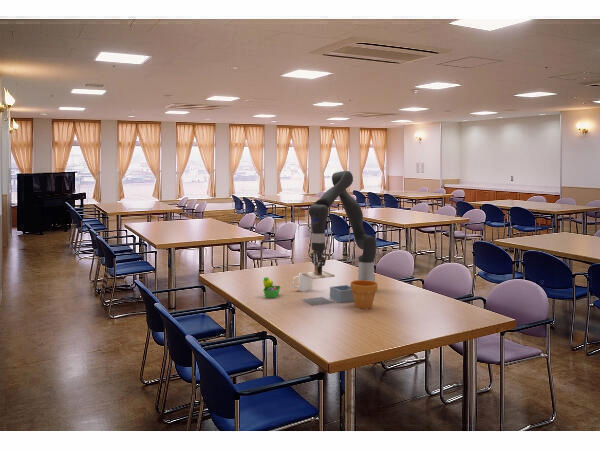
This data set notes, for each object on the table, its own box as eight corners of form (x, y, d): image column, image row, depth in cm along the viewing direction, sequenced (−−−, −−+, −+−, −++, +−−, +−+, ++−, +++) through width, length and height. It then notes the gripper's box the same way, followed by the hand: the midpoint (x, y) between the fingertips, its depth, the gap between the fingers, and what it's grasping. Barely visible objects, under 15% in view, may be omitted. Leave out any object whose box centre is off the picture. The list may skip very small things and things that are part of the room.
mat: (322, 297, 300) (322, 296, 300) (335, 303, 288) (335, 302, 288) (300, 300, 294) (300, 299, 294) (312, 306, 281) (312, 305, 281)
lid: (322, 272, 298) (322, 262, 297) (334, 276, 286) (334, 266, 286) (302, 274, 292) (302, 264, 291) (313, 279, 280) (313, 268, 280)
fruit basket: (276, 299, 295) (276, 279, 294) (260, 298, 297) (260, 278, 296) (280, 294, 306) (280, 275, 305) (265, 293, 308) (266, 274, 307)
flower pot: (373, 311, 273) (374, 286, 272) (347, 308, 278) (347, 284, 276) (379, 304, 286) (380, 281, 285) (353, 302, 291) (354, 279, 290)
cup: (313, 291, 314) (313, 275, 313) (293, 292, 312) (294, 275, 310) (310, 288, 322) (310, 272, 321) (291, 289, 320) (291, 272, 318)
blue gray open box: (346, 297, 303) (346, 285, 302) (357, 301, 293) (357, 289, 292) (329, 299, 297) (330, 286, 297) (340, 303, 288) (340, 291, 287)
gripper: (331, 242, 282) (330, 274, 284) (317, 239, 295) (317, 269, 297) (318, 243, 279) (318, 275, 281) (306, 240, 291) (306, 271, 293)
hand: (318, 272), depth 289 cm, fingers closed on lid, 3 cm apart
